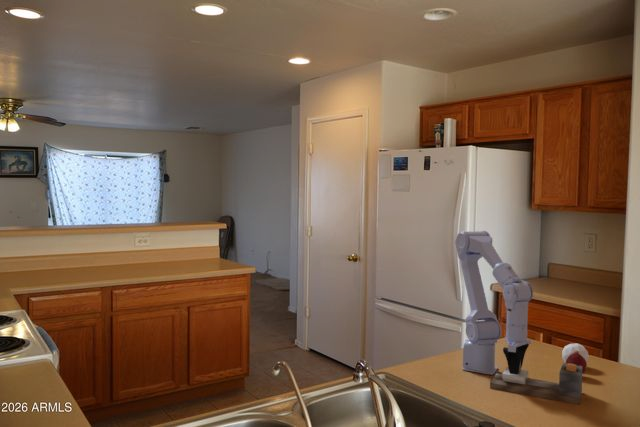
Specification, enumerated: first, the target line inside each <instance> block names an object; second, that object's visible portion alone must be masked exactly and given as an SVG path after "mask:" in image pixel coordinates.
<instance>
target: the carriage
mask: <svg viewBox="0 0 640 427" xmlns="http://www.w3.org/2000/svg"><path fill="white" fill-rule="evenodd" d="M528 375H529V370H527V369H522V367H521V361H520V366H519V371H518V374H517V375H516V374H510V372H509V368H508V366H506V368H505V369H504V371H503V372H502V378H503V381H507V382H513V383H519V384H524V385H525V384H526V378H529V377H528Z"/></svg>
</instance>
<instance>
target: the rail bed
mask: <svg viewBox="0 0 640 427" xmlns="http://www.w3.org/2000/svg"><path fill="white" fill-rule="evenodd" d="M502 373H503V372H502ZM502 373H501V372H496V373H494V376H493V378H492V380H491V381H490V382H489V388H490V389H494V390H498V391H499V390H500V391H505V392H510V393H515V394H522V395H526V396H531V397H537V398H542V399H548V400H552V401H559V402H565V403H570V404H574V405H580V401H581V397H582V394H583V393H582V391H583V387H582V386H583V373H582V366H577V369H576V372H574V371H568V370H566V363H565V362H564V363H562V364H561V366H560V370H559V382H553V381H547V380H542V379H535V378H530V377H528V378H526V384H525V385H524V384H519V383H513V382H507V381H503V378H502Z"/></svg>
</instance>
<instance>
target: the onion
mask: <svg viewBox="0 0 640 427" xmlns="http://www.w3.org/2000/svg"><path fill="white" fill-rule="evenodd" d="M568 363H570V364H575V365H577V366H582V374H584V373H585V371H586V370H587V367H588V365H587V363H588V362H587V363H586V360H585V359H584V358H583V357H582V356H581V355H580V354H579V353H578V351H577V350H576V351H575V352H574V353H573V354H571V355H570V356H569V357H568V358H567V360H566V363H565V364H568Z"/></svg>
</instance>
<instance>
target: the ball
mask: <svg viewBox="0 0 640 427" xmlns="http://www.w3.org/2000/svg"><path fill="white" fill-rule="evenodd" d="M576 350H577V351H578V353H579V354H580V355H581V356H582V357H583V358H584V359H585V360H586V363H588V361H589V351H588V350H587V349H586V348H585V346H583V345H582V344H580V343H576V342H575V343H569V344H567V345H564V347H563V350H562V351H561V354H562V355H561V356H562V357H561V358H562V360H563V362H564V364H566V360H567V358H568V357H569V356H570V355H571V354H573V353H574V352H575V351H576Z"/></svg>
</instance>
